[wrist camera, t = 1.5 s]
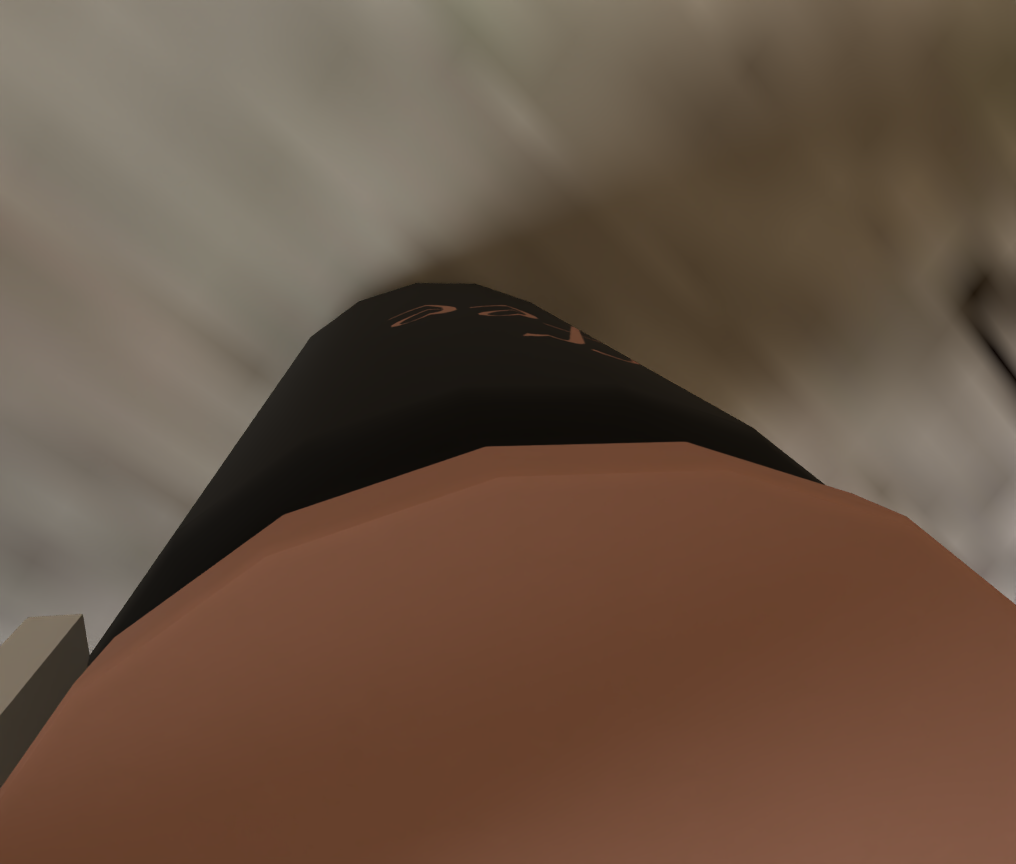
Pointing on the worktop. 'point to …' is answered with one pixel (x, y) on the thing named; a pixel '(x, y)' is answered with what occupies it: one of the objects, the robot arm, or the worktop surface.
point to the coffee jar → (526, 635)
